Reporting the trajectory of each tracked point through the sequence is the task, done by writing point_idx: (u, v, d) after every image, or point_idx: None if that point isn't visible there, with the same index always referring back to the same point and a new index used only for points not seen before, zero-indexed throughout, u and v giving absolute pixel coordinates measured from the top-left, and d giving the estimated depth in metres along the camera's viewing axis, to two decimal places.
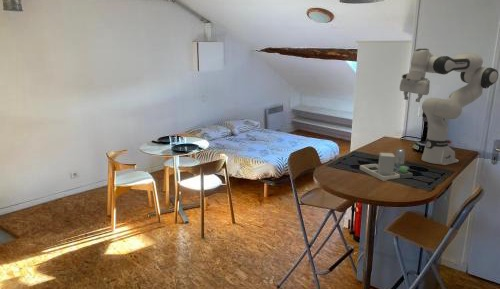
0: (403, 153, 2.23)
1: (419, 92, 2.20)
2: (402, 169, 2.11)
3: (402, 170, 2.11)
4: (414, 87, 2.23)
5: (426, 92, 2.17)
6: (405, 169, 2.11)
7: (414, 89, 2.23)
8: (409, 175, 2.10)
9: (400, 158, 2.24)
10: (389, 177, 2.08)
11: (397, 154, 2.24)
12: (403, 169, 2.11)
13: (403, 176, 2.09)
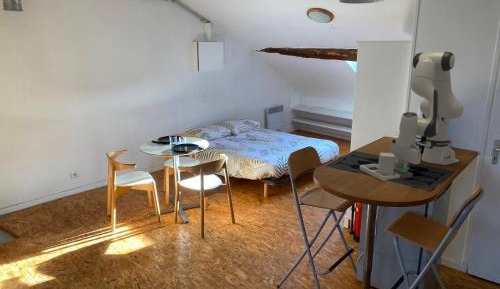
0: None
1: (410, 161, 2.04)
2: (402, 170, 2.11)
3: (402, 171, 2.11)
4: (404, 154, 2.08)
5: (417, 161, 2.01)
6: (405, 170, 2.11)
7: (404, 156, 2.08)
8: (409, 175, 2.10)
9: None
10: (389, 177, 2.08)
11: None
12: (403, 170, 2.11)
13: (403, 176, 2.09)
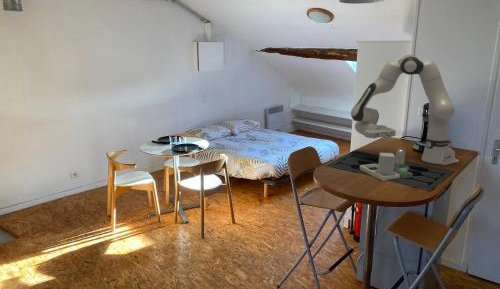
0: (403, 153, 2.23)
1: None
2: (402, 171, 2.11)
3: (402, 172, 2.11)
4: None
5: (367, 135, 2.37)
6: (405, 171, 2.11)
7: None
8: (409, 175, 2.10)
9: (400, 158, 2.24)
10: (389, 177, 2.08)
11: (397, 154, 2.24)
12: (403, 171, 2.11)
13: (403, 176, 2.09)
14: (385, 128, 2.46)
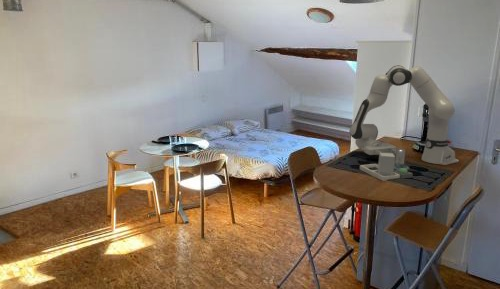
0: (403, 153, 2.23)
1: None
2: (402, 171, 2.11)
3: (402, 172, 2.11)
4: None
5: (368, 152, 2.37)
6: (405, 171, 2.11)
7: None
8: (409, 175, 2.10)
9: (400, 158, 2.24)
10: (389, 177, 2.08)
11: (397, 154, 2.24)
12: (403, 171, 2.11)
13: (403, 176, 2.09)
14: (386, 144, 2.47)
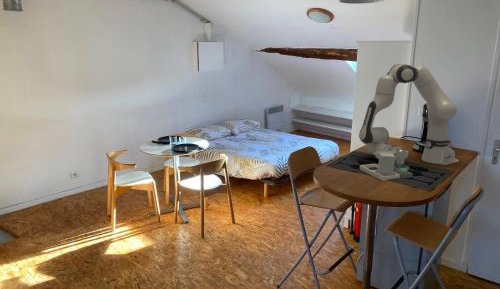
0: (403, 153, 2.23)
1: None
2: (402, 171, 2.11)
3: (402, 172, 2.11)
4: None
5: None
6: (405, 171, 2.11)
7: None
8: (409, 175, 2.10)
9: (400, 158, 2.24)
10: (389, 177, 2.08)
11: (397, 154, 2.24)
12: (403, 171, 2.11)
13: (403, 176, 2.09)
14: (398, 148, 2.36)
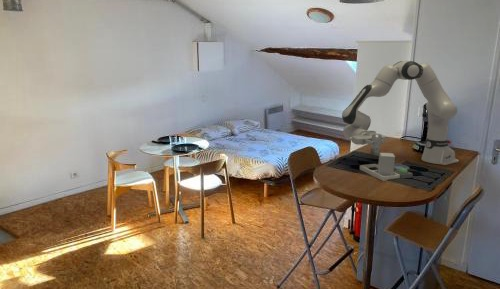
0: (379, 139, 2.16)
1: None
2: (402, 171, 2.11)
3: (402, 172, 2.11)
4: None
5: (355, 141, 2.20)
6: (405, 171, 2.11)
7: None
8: (409, 175, 2.10)
9: (376, 144, 2.17)
10: (389, 177, 2.08)
11: (373, 140, 2.17)
12: (403, 171, 2.11)
13: (403, 176, 2.09)
14: None
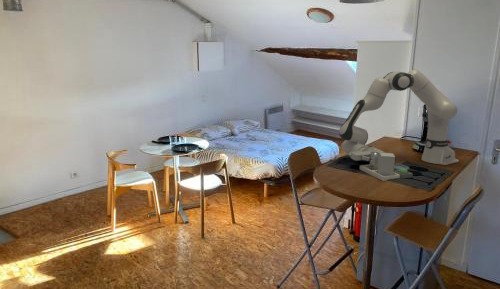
0: (377, 156, 2.18)
1: None
2: (402, 171, 2.11)
3: (402, 172, 2.11)
4: None
5: (354, 157, 2.22)
6: (405, 171, 2.11)
7: None
8: (409, 175, 2.10)
9: (374, 161, 2.19)
10: (389, 177, 2.08)
11: (371, 157, 2.20)
12: (403, 171, 2.11)
13: (403, 176, 2.09)
14: (373, 149, 2.31)
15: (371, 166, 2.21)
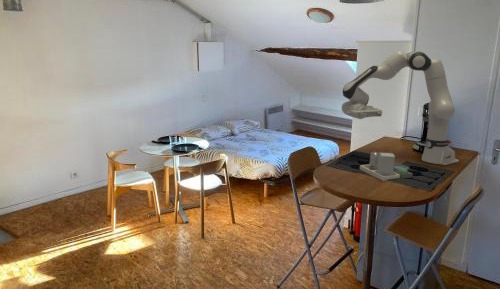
0: (377, 156, 2.18)
1: None
2: (402, 171, 2.11)
3: (402, 172, 2.11)
4: None
5: (353, 114, 2.31)
6: (405, 171, 2.11)
7: None
8: (409, 175, 2.10)
9: (374, 161, 2.19)
10: (389, 177, 2.08)
11: (371, 157, 2.20)
12: (403, 171, 2.11)
13: (403, 176, 2.09)
14: (372, 108, 2.40)
15: (371, 166, 2.21)
